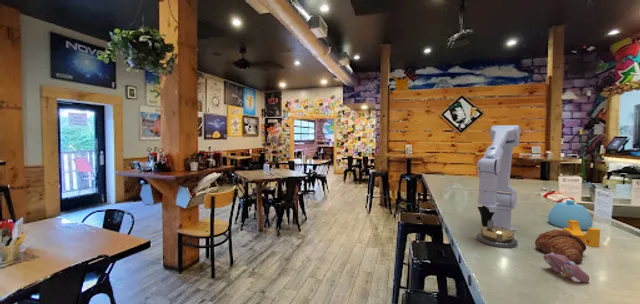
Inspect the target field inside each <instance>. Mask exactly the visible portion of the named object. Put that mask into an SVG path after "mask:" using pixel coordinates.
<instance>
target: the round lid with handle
mask: <svg viewBox="0 0 640 304" xmlns="http://www.w3.org/2000/svg"><path fill="white" fill-rule="evenodd" d="M480 233H481V236H482V237H484V238H486V239H488V240H492V241H496V242H512V241H513V240H514V239H515V238H514V236H515V233H514V231H512V230H510V229H507V228H504V227H499V226H494V220H491V219H487V227H483V226H481V227H480Z"/></svg>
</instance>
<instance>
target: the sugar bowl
mask: <svg viewBox="0 0 640 304" xmlns="http://www.w3.org/2000/svg"><path fill="white" fill-rule="evenodd" d="M568 220H575V221H578V222H579V227H580V230H581V231H587V230H588V228H593V219H592V216H591V215H590V213H589V211H588V210H587V209H586V207H585V206H584V205H582V204H579V203H576V201H575V200H573V199H566V200H565V202H557V203H556V204H555V205H553V207H552V208H551V209H550V210H549V213H548V216H547V221H548V222H549V223H551V225H552V226H554V227H555V226H556V227H558V228H562V229H563V228H568Z"/></svg>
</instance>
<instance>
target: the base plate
mask: <svg viewBox="0 0 640 304" xmlns="http://www.w3.org/2000/svg"><path fill="white" fill-rule="evenodd" d="M476 240H477V241H478V242H480V243H481V244H484V245H485V246H490V247H494V248H501V249H513V248H517V247H518V243H519V242H518V240H517V239H515V238H514V240H513V241H512V242H496V241H492V240H488V239H486V238H484V237H482V236H481V232H479V233H477V234H476Z"/></svg>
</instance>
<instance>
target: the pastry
mask: <svg viewBox="0 0 640 304" xmlns="http://www.w3.org/2000/svg"><path fill="white" fill-rule="evenodd" d="M534 244H535V248H536V249H537V250H538V251H540V252H542V253H543V254H545V255H546V254H549V253H550V254H551V253H552V252H553V253H554V254H559V255H563V256H565V257H567V258H568V259H569V260H570V261H573V262H574V263H575V264H576V265H578V264H579V263H581V262H582V261H583V255H584V252H585V251H586V250H587V245H586V244H585V243H584V242H583V241H582V240H581V239H580V238H579V237H577V236H575V235H573V234H571V233H569V232H566V231H563V229H562V230H561V229H551V230H549V231H545V232H543V233H539V235H538V237H537V238H536V239H535V241H534Z"/></svg>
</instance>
